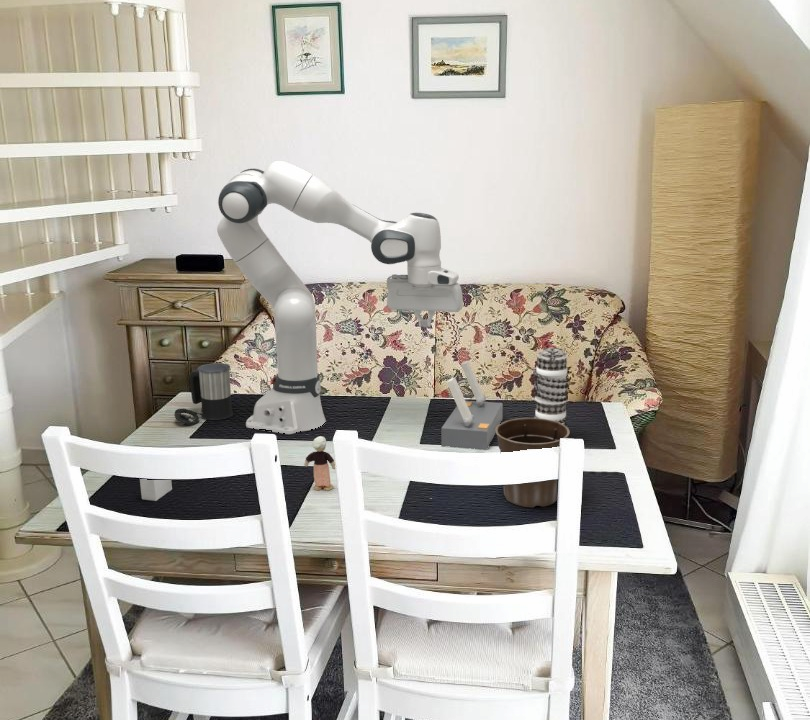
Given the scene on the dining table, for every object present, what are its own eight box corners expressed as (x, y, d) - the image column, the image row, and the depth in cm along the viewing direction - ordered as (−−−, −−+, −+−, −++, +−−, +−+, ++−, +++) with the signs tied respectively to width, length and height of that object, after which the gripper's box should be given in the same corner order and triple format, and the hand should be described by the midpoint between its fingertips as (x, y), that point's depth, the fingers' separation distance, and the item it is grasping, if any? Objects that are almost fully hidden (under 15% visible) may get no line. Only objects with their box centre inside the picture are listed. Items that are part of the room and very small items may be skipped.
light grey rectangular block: (172, 489, 206) (168, 449, 203) (155, 501, 199) (151, 459, 197) (158, 487, 207) (154, 447, 204) (141, 499, 200) (137, 458, 198)
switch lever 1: (465, 426, 227) (445, 383, 226) (468, 421, 231) (449, 378, 229) (472, 424, 227) (452, 380, 225) (475, 419, 230) (455, 376, 229)
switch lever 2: (477, 406, 243) (459, 365, 242) (480, 402, 247) (462, 362, 245) (484, 404, 242) (466, 363, 241) (487, 400, 246) (469, 359, 245)
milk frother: (239, 411, 260) (235, 363, 256) (215, 429, 245) (210, 378, 241) (195, 408, 263) (191, 361, 259) (169, 426, 249) (164, 376, 245)
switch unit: (441, 446, 229) (441, 427, 228) (460, 416, 251) (460, 399, 250) (486, 449, 226) (486, 430, 224) (502, 419, 248) (502, 402, 247)
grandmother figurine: (338, 484, 206) (336, 433, 203) (337, 491, 203) (334, 439, 199) (306, 484, 206) (303, 434, 203) (303, 491, 203) (301, 439, 199)
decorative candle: (532, 435, 236) (534, 345, 229) (567, 436, 234) (570, 345, 228) (531, 447, 227) (533, 354, 221) (567, 448, 226) (570, 355, 219)
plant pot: (552, 518, 187) (554, 447, 182) (483, 504, 194) (483, 435, 190) (577, 490, 200) (579, 424, 196) (511, 478, 208) (512, 413, 204)
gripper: (382, 276, 230) (384, 327, 234) (459, 278, 225) (459, 331, 228) (389, 272, 236) (391, 322, 240) (464, 274, 230) (464, 325, 234)
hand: (424, 326), depth 234 cm, fingers closed
